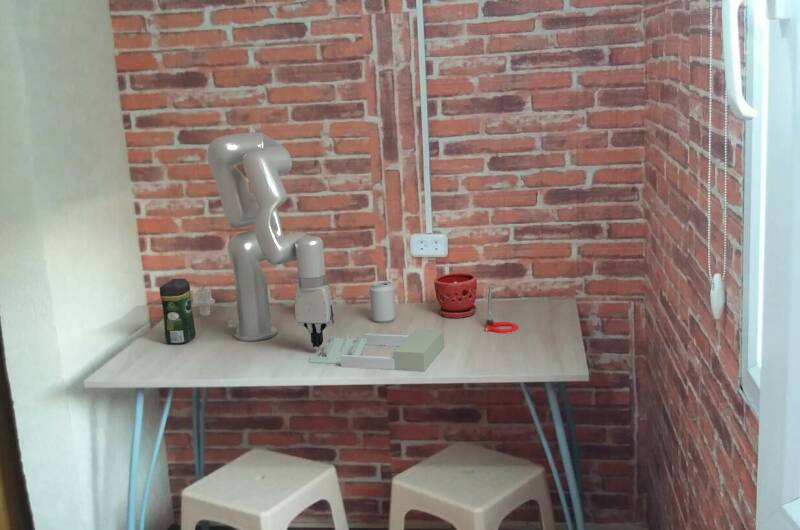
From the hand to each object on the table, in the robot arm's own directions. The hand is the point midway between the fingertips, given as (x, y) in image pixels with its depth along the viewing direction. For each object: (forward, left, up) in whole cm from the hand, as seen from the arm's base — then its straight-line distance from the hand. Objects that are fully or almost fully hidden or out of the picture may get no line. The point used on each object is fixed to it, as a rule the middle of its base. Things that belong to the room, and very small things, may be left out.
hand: (317, 345), depth 253 cm
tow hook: (+46, +29, -3) cm, 55 cm away
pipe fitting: (-54, +32, -3) cm, 63 cm away
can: (+8, +33, -3) cm, 34 cm away
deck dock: (+22, 0, -2) cm, 22 cm away
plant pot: (+29, +42, -3) cm, 51 cm away
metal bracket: (+8, -2, -3) cm, 9 cm away
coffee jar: (-47, +5, -3) cm, 47 cm away
